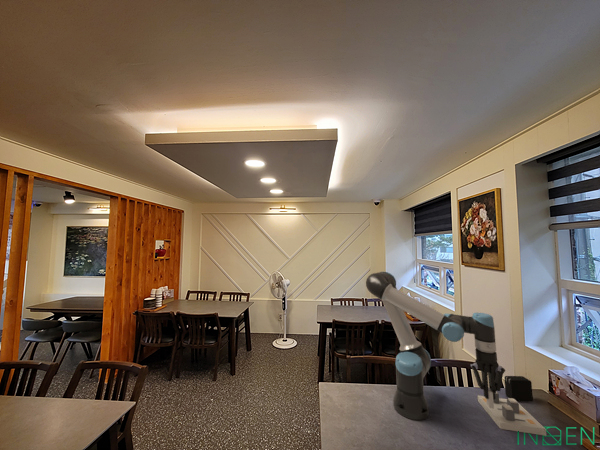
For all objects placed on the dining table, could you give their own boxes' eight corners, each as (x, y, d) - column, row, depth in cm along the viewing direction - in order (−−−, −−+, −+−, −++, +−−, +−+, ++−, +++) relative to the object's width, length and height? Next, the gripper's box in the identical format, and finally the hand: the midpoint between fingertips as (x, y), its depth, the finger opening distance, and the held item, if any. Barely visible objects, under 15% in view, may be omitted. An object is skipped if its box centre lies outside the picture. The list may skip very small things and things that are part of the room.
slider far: (492, 402, 113) (491, 392, 113) (488, 398, 116) (488, 388, 116) (499, 403, 112) (498, 393, 113) (495, 399, 115) (495, 389, 116)
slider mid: (511, 412, 106) (510, 401, 107) (507, 408, 109) (506, 397, 110) (519, 413, 106) (518, 402, 106) (515, 409, 108) (514, 398, 109)
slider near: (506, 419, 101) (505, 408, 102) (502, 415, 104) (501, 403, 105) (514, 421, 101) (514, 409, 101) (510, 416, 104) (509, 404, 104)
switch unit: (500, 428, 100) (499, 422, 100) (477, 400, 118) (477, 395, 119) (546, 435, 96) (545, 428, 97) (515, 405, 115) (515, 399, 115)
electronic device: (533, 402, 118) (531, 380, 119) (512, 401, 118) (511, 380, 119) (525, 396, 122) (523, 376, 123) (505, 396, 122) (504, 375, 123)
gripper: (473, 351, 105) (477, 409, 102) (507, 354, 102) (513, 414, 99) (465, 345, 112) (469, 399, 109) (497, 347, 109) (502, 403, 106)
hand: (490, 406), depth 104 cm, fingers closed
